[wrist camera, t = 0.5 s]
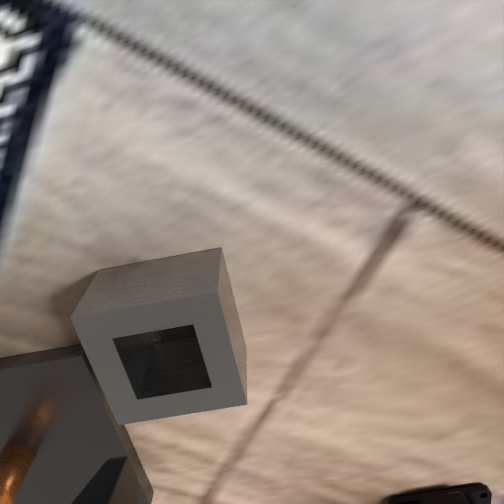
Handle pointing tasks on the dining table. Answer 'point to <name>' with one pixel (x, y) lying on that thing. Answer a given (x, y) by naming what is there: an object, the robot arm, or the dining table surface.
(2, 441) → the grey socket block
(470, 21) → the dining table surface
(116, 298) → the grey hollow block
